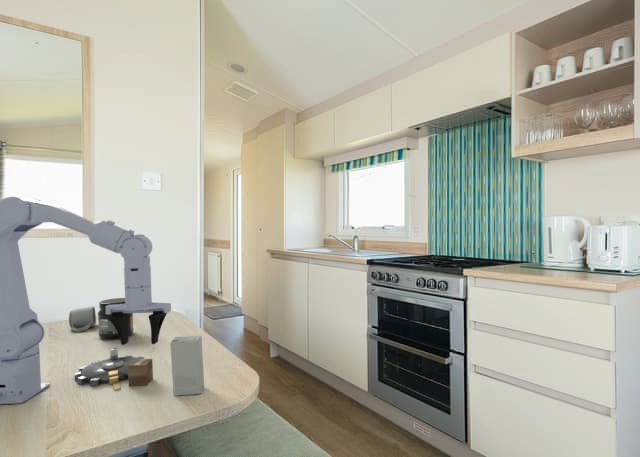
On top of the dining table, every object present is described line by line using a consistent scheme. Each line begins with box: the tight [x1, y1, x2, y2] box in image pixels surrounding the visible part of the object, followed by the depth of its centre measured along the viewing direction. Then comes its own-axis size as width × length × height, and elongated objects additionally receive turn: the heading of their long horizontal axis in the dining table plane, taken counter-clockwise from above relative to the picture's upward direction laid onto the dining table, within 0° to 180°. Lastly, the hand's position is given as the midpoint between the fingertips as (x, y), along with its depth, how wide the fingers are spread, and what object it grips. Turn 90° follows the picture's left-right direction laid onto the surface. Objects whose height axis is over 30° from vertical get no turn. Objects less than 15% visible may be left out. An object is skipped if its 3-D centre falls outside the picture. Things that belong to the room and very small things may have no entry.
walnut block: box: [127, 358, 154, 387], centre depth 93 cm, size 4×4×5 cm
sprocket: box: [74, 347, 145, 387], centre depth 100 cm, size 16×16×4 cm
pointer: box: [112, 382, 121, 392], centre depth 91 cm, size 4×1×1 cm, turn 32°
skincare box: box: [169, 335, 205, 397], centre depth 88 cm, size 6×4×12 cm
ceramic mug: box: [68, 305, 97, 333], centre depth 143 cm, size 10×8×7 cm
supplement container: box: [97, 297, 134, 341], centre depth 133 cm, size 10×10×12 cm
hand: (139, 343), depth 93 cm, fingers open, 6 cm apart
